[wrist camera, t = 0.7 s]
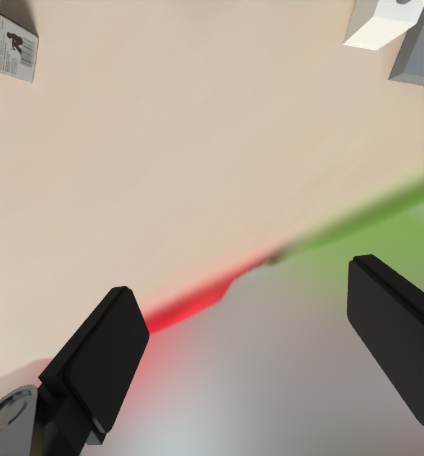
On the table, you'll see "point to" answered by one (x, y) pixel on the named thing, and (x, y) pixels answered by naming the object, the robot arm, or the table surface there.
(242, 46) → the table surface
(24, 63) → the coffee box
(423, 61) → the socket plate
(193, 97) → the table surface
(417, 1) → the plug
